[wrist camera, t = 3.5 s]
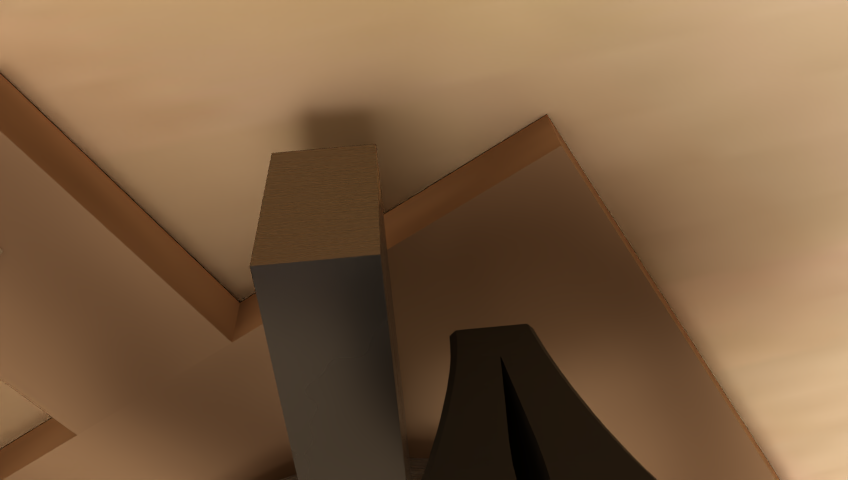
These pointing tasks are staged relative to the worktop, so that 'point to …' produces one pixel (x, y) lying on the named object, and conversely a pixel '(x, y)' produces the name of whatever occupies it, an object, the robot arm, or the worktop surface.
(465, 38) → the worktop surface
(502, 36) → the worktop surface
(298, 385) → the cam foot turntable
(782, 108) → the worktop surface
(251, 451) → the walnut stand
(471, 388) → the robot arm
